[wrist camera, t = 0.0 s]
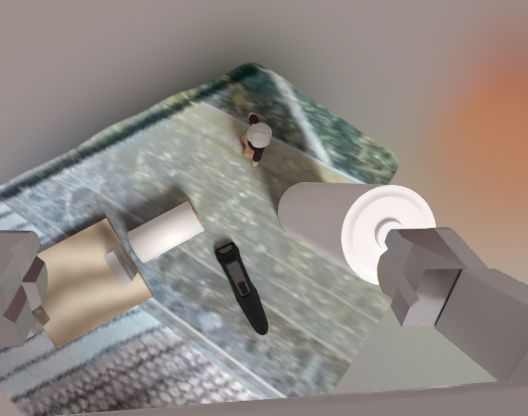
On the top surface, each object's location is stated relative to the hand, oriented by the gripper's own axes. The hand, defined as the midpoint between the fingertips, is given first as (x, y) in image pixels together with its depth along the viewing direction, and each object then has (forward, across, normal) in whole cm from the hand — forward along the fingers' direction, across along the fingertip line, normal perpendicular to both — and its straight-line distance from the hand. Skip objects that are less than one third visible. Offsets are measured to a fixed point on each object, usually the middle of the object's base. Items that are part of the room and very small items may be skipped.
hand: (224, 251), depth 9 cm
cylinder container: (+46, +17, -29) cm, 57 cm away
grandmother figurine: (+51, +8, -20) cm, 56 cm away
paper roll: (+45, -5, -32) cm, 55 cm away
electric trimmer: (+40, +7, -40) cm, 57 cm away
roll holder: (+41, -18, -39) cm, 59 cm away
